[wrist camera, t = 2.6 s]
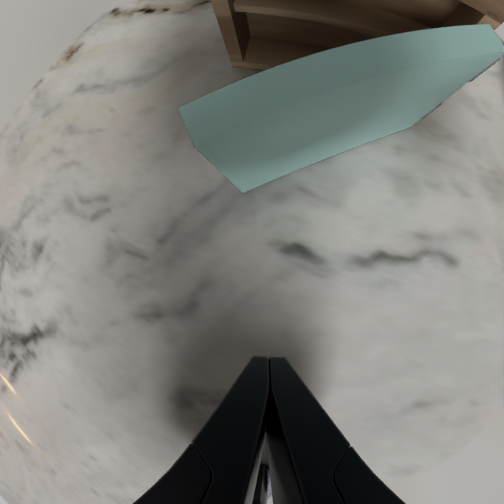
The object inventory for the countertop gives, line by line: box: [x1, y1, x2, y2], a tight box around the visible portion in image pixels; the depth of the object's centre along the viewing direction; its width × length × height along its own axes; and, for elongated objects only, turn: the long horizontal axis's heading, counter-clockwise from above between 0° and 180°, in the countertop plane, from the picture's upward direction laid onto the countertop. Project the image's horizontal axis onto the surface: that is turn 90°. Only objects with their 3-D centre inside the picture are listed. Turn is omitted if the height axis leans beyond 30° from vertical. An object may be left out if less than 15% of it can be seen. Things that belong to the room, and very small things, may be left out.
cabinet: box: [211, 0, 504, 70], centre depth 12 cm, size 3×12×12 cm, turn 78°
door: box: [178, 24, 504, 193], centre depth 12 cm, size 1×12×11 cm, turn 113°
